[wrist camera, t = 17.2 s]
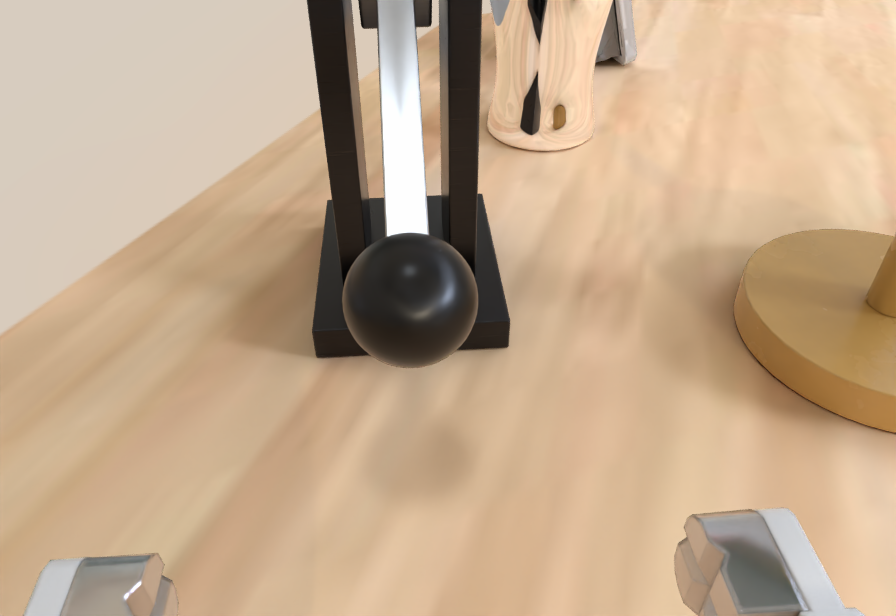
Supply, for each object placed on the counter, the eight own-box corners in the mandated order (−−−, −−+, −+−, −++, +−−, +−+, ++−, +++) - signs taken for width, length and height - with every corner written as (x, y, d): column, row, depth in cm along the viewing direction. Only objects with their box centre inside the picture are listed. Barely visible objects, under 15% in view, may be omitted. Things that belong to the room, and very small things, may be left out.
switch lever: (478, 379, 19) (489, 340, 16) (350, 386, 19) (335, 348, 15) (444, -29, 24) (447, -122, 20) (343, -26, 23) (330, -120, 20)
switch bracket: (508, 347, 26) (536, -74, 17) (316, 358, 25) (243, -68, 17) (481, 217, 33) (491, -129, 24) (330, 224, 32) (284, -125, 24)
